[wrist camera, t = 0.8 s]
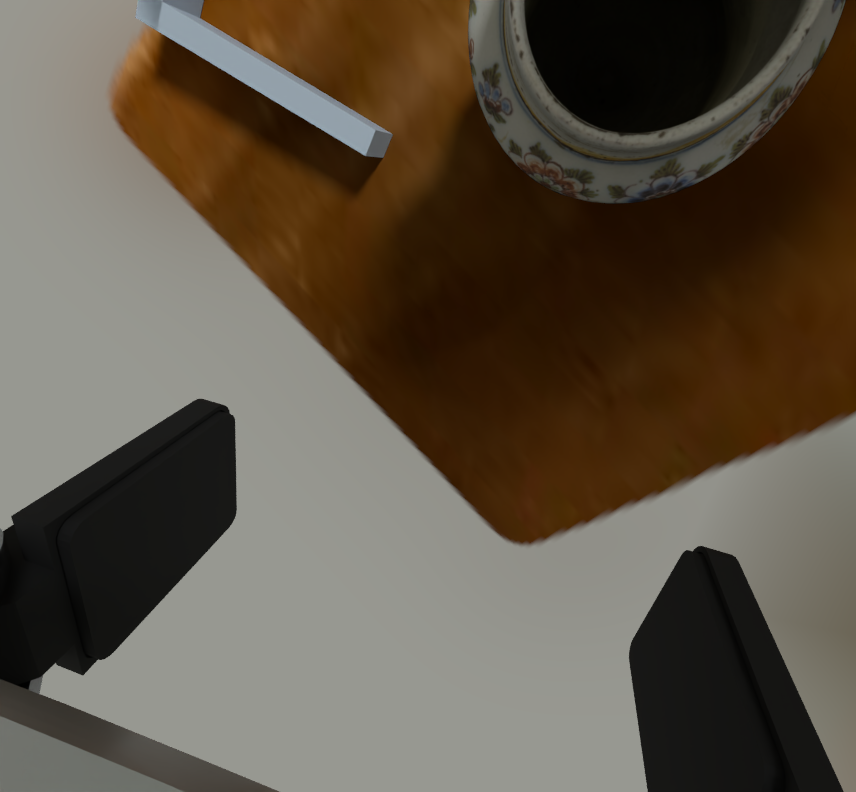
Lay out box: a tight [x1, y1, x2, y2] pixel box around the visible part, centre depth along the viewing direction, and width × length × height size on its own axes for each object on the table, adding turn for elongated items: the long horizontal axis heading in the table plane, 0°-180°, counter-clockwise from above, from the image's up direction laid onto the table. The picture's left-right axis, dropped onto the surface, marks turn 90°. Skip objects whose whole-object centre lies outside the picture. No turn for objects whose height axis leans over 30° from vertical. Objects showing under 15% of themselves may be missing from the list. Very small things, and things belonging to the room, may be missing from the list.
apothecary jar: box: [468, 0, 846, 204], centre depth 21 cm, size 12×12×18 cm
